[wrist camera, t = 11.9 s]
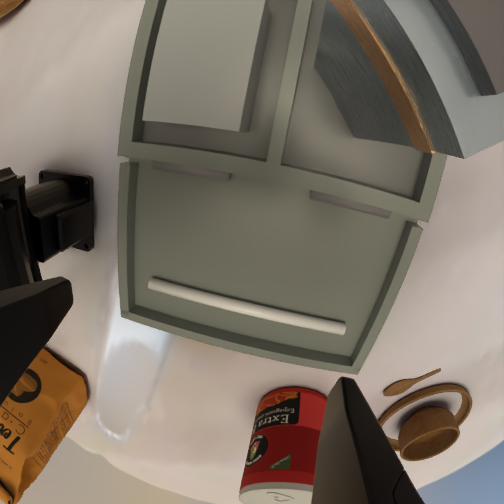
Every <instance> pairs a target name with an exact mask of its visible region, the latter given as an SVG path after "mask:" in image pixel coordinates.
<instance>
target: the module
mask: <svg viewBox="0 0 504 504" xmlns="http://www.w3.org/2000/svg"><path fill="white" fill-rule="evenodd" d="M314 67H315V68H316V70H317V72H318V73H319V75H320V77H321V78H322V80H323V82H324V83H325V85H326V87H327V88H328V90H329V92H330V94H331V95H332V97H333V99H334V101H335V103H336V104H337V106H338V108H339V110H340V112H341V114H342V115H343V117H344V119H345V121H346V123H347V125H348V127H349V129H350V131H351V133H352V135H353V137H354V138H359V139H366V140H373V141H380V142H386V143H392V144H398V145H403V146H409V147H414V149H415V150H417V151H421V152H426V153H430V154H433V153H435V152H438V153H443V154H447V155H451V156H455V157H459V158H463V159H465V158H467V157H469V156H471V155H474V154H476V153H478V152H480V151H482V150H484V149H486V148H488V147H490V146H493V145H495V144H497V143H499V142H501V141H503V140H504V0H326V4H325V10H324V15H323V21H322V26H321V31H320V37H319V42H318V47H317V52H316V57H315V63H314Z"/></svg>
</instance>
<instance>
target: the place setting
mask: <svg viewBox="0 0 504 504" xmlns="http://www.w3.org/2000/svg"><path fill="white" fill-rule="evenodd" d="M440 371H441V368H439V369H437V370H434V371H432V372H430V373H428V374H426V375H424V376H421V377H419V378H416V379H404V380H401V381H398V382H396V383H394V384H392V385H391V386H389V387H388V388H387V389H386V390H385V391H384V396H394V395H398V394H401V393H403V392H405V391H406V390H407V389H409V388H410V387H411V386H412V385H414V384H415V383H417V382H419V381H421V380H423V379H425V378H427V377H430V376H432V375H434V374H436V373H438V372H440ZM443 392H459V393H461V395H462V405H461V407H460V409H459V411H458V412H457V414H456V415H455V416H454V415H453V414H452V413H451V412H450V411H449V410H447V409H444V408H436V407H427V408H424V409H421V410H419V411H417V412H416V413H414V414H413V415H412V416H411V417H410V418H409V420H408V421H407V422H406V423H405V424H404V425H403V426H402V428H401V430H400V432H399V436H398V440H395V439H391V438H389V437H387V438H388V440H389V442H390V444H391V445H392V447H393V449H394V451H400V456H401V458H402V459H404V460H407V461H419V460H424V459H428V458H431V457H433V456H436V455H438V454H440V453H442V452H443V451H445V450H446V449H448V448H449V447H450V446H452V445H453V444H454V443H455V442H456V440H457V439H458V437H459V435H460V431H459V428H458V427H459V426H460V425H461V424H462V423H463V421H464V420H465V419H466V418H467V416H468V414H469V413H470V410H471V407H472V399H471V396H470V395H469V393H468V392H467V391H466V390H465V389H464V388H462V387H460V386H457V385H451V384H443V385H436V386H432V387H428V388H425V389H422V390H419V391H417V392H415V393H413V394H411V395H409V396H407V397H405V398H403V399H402V400H400V401H399V402H397V403H396V404H394V405H393V406H392V407H391V408H389V409H388V410H387V411H386V412H385V414H384V415H383V416H382V417H381V419H380V420H379V424H380V426H381V427H382V425H383V424H384V423H385V422H386V421H387V420H388V419H389V418H390V417H391V416H392V415H393V414H395V413H396V412H397V411H399V410H400V409H402V408H404V407H405V406H407V405H409V404H411V403H413V402H415V401H417V400H419V399H422V398H424V397H427V396H430V395H434V394H438V393H443Z"/></svg>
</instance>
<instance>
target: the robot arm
mask: <svg viewBox="0 0 504 504" xmlns="http://www.w3.org/2000/svg"><path fill="white" fill-rule="evenodd" d="M43 175H44V176H43ZM86 180H87V182H88V184H87V183H86ZM25 183H26V181H25V176H17V175H15V174H14V173H13V171H12V170H11V168H10V167H8V168H4V169H0V407H1V405H2V404H3V402H4V401H5V399H6V398H7V396H8V395H9V393H10V392H11V391H12V389H13V388H14V386H15V385H16V383H17V382H18V381H19V379H20V378H21V376H22V375H23V374H24V372H25V371H26V370H27V368H28V367H29V366H30V364H31V363H32V362H33V360H34V359H35V358H36V356H37V355H38V354H39V352H40V351H41V350H42V349H43V347H44V346H45V345H46V343H47V342H48V341H49V339H50V338H51V337H52V335H53V334H54V332H55V331H56V329H57V328H58V326H59V325H60V323H61V322H62V320H63V319H64V317H65V316H66V314H67V313H68V311H69V310H70V308H71V307H72V304H73V294H72V286H71V282H70V281H69V280H68V279H66V278H64V277H56V278H51V279H47V280H42V276H41V273H40V269H39V264H38V263H40V262H42V263H44V262H46V261H47V260H49V259H50V258H52V257H53V256H55V255H56V254H58V253H59V252H63V251H65V250H66V249H68V248H70V247H74V248H77V249H80V250H83V251H87V252H89V251H90V250H92V249H93V180H92V178H91V177H90V176H87V175H80V174H73V173H65V172H58V171H50V170H43V171H40V173H39V184H38V185H35V186H32V187H29V188H26V189H25ZM87 244H88V246H89V247H88V246H87ZM311 504H425V503H424V501H423V500H422V498H421V497H420V495H419V494H418V492H417V490H416V489H415V487H414V485H413V483H412V482H411V480H410V478H409V476H408V474H407V473H406V471H405V470H404V467H403V465H402V464H401V462H400V460H399V458H398V456H397V454H396V453H395V451H394V449H393V447H392V445H391V444H390V442H389V440H388V438H387V436H386V435H385V433H384V431H383V429H382V427H381V426H380V424H379V422H378V420H377V419H376V417H375V415H374V413H373V411H372V410H371V408H370V406H369V404H368V403H367V401H366V399H365V397H364V396H363V394H362V392H361V390H360V389H359V387H358V385H357V383H356V382H355V380H354V379H351V378H347V377H340V378H339V379H338V381H337V382H336V384H335V385H334V387H333V388H332V390H331V392H330V393H329V395H328V398H327V403H326V408H325V413H324V418H323V423H322V428H321V432H320V437H319V442H318V449H317V459H316V468H315V477H314V485H313V493H312V500H311Z"/></svg>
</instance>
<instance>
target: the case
mask: <svg viewBox="0 0 504 504" xmlns="http://www.w3.org/2000/svg"><path fill="white" fill-rule="evenodd" d="M325 4H326V0H146V1H145V5H144V8H143V12H142V16H141V19H140V23H139V27H138V31H137V35H136V40H135V44H134V48H133V53H132V58H131V63H130V68H129V73H128V79H127V85H126V91H125V97H124V104H123V111H122V119H121V127H120V136H119V146H118V156H124V157H130V158H129V162H125V163H121V164H120V173H119V191H118V277H119V295H120V309H121V317H123V318H126V319H129V320H132V321H135V322H138V323H141V324H144V325H147V326H150V327H153V328H156V329H159V330H162V331H165V332H169V333H172V334H175V335H179V336H182V337H185V338H189V339H192V340H196V341H199V342H203V343H207V344H210V345H214V346H218V347H222V348H225V349H229V350H233V351H237V352H241V353H246V354H250V355H254V356H258V357H263V358H267V359H272V360H277V361H281V362H286V363H291V364H296V365H302V366H307V367H312V368H318V369H324V370H330V371H336V372H342V373H349V374H355V375H357V374H358V373H359V371H360V369H361V367H362V366H363V364H364V362H365V360H366V358H367V356H368V354H369V353H370V351H371V349H372V347H373V345H374V343H375V341H376V339H377V337H378V335H379V333H380V331H381V329H382V327H383V325H384V323H385V321H386V319H387V317H388V314H389V312H390V310H391V308H392V306H393V304H394V301H395V299H396V297H397V295H398V292H399V290H400V288H401V285H402V283H403V280H404V278H405V276H406V273H407V271H408V268H409V266H410V263H411V261H412V258H413V255H414V253H415V250H416V247H417V244H418V242H419V239H420V236H421V233H422V230H423V229H422V228H421V227H420V226H418V225H417V221H418V220H421V221H425V222H428V221H429V218H430V215H431V212H432V209H433V205H434V202H435V199H436V195H437V192H438V188H439V185H440V181H441V178H442V174H443V170H444V166H445V162H446V158H447V154H443V153H438V152H435V153H433V154H430V153H426V152H421V151H417V150H415V149H414V147H409V146H403V145H398V144H392V143H386V142H380V141H373V140H366V139H359V138H354V137H353V135H352V133H351V131H350V129H349V127H348V125H347V123H346V121H345V119H344V117H343V115H342V114H341V112H340V110H339V108H338V106H337V104H336V103H335V101H334V99H333V97H332V95H331V94H330V92H329V90H328V88H327V87H326V85H325V83H324V82H323V80H322V78H321V77H320V75H319V73H318V72H317V70H316V68H315V67H314V63H315V57H316V52H317V47H318V42H319V37H320V31H321V26H322V21H323V15H324V10H325Z"/></svg>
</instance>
